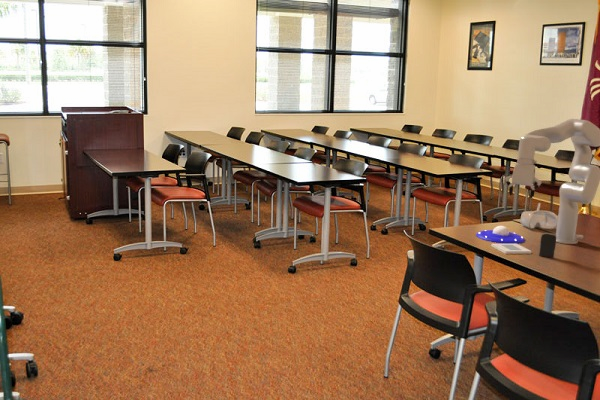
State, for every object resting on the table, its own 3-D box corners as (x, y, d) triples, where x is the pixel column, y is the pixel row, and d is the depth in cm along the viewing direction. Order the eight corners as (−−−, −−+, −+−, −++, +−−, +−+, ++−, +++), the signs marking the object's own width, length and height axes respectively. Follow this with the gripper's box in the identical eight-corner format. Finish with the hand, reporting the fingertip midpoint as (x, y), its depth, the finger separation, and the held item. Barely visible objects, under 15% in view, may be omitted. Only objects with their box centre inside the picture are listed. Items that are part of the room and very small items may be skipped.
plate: (516, 245, 329) (516, 243, 329) (531, 253, 316) (531, 251, 316) (491, 245, 326) (491, 243, 326) (505, 253, 313) (505, 251, 312)
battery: (554, 256, 312) (557, 233, 310) (553, 258, 309) (556, 235, 307) (539, 254, 315) (542, 231, 313) (538, 256, 312) (541, 233, 310)
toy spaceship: (476, 241, 335) (477, 228, 334) (475, 230, 359) (476, 218, 358) (527, 247, 330) (528, 233, 328) (522, 235, 354) (524, 223, 352)
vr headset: (527, 230, 366) (530, 205, 363) (517, 225, 377) (520, 201, 374) (557, 231, 368) (560, 206, 366) (547, 226, 379) (550, 202, 377)
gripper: (545, 163, 314) (540, 197, 317) (509, 159, 322) (505, 192, 326) (542, 164, 307) (537, 200, 311) (505, 160, 316) (501, 194, 319)
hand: (521, 196), depth 318 cm, fingers open, 9 cm apart
